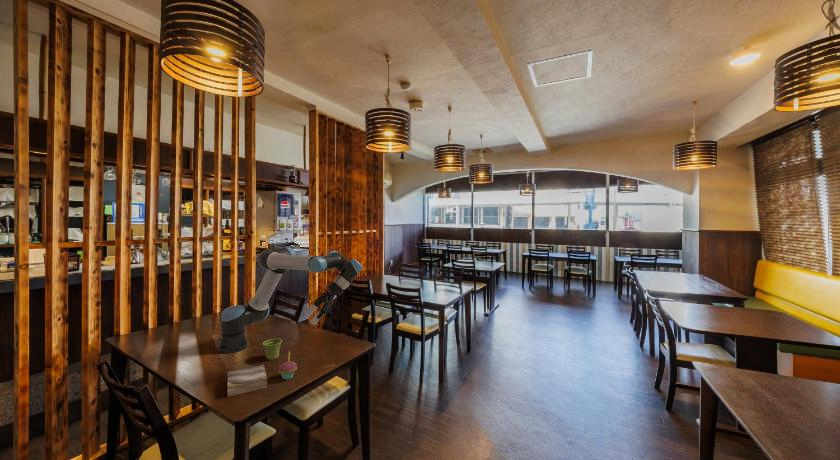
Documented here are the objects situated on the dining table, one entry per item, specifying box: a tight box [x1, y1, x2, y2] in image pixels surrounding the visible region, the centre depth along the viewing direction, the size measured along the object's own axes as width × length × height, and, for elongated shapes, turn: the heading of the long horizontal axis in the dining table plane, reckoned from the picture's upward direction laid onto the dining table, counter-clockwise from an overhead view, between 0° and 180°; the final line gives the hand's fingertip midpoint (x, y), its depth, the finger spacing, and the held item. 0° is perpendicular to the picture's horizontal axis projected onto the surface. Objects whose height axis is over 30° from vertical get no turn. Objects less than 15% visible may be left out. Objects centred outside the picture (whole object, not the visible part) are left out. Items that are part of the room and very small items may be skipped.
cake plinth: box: [227, 364, 268, 398], centre depth 144 cm, size 15×15×5 cm
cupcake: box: [277, 350, 298, 380], centre depth 151 cm, size 9×8×12 cm
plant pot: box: [262, 338, 283, 361], centre depth 171 cm, size 9×9×9 cm
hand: (309, 319), depth 156 cm, fingers open, 13 cm apart
